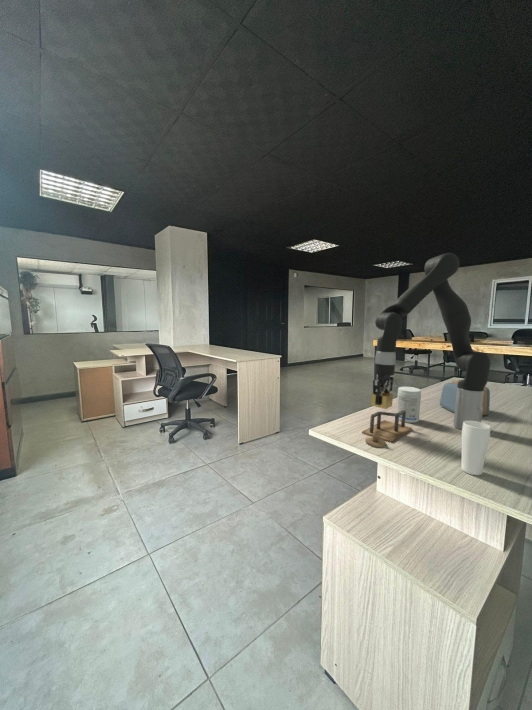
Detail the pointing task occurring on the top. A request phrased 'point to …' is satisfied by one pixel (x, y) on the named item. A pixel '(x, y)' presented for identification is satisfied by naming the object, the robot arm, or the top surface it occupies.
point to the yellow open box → (383, 400)
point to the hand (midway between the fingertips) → (381, 403)
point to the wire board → (388, 426)
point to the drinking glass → (474, 446)
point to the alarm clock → (450, 397)
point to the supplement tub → (409, 403)
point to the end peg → (375, 440)
